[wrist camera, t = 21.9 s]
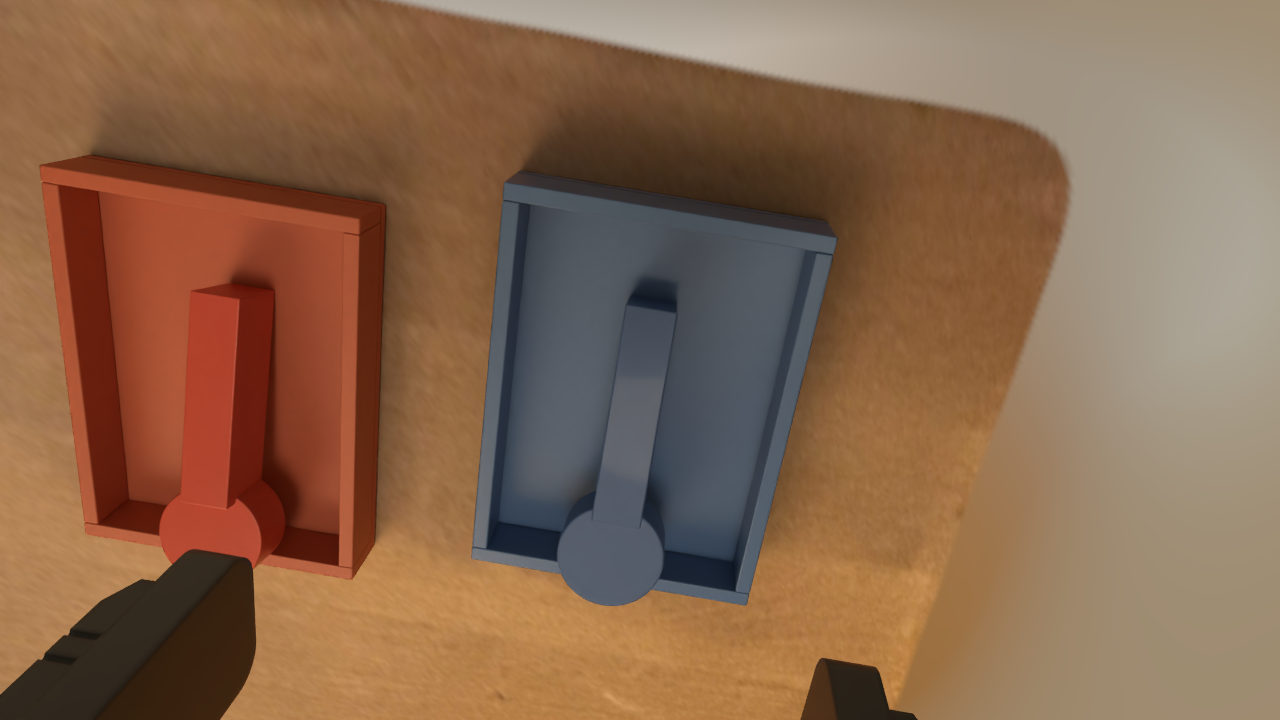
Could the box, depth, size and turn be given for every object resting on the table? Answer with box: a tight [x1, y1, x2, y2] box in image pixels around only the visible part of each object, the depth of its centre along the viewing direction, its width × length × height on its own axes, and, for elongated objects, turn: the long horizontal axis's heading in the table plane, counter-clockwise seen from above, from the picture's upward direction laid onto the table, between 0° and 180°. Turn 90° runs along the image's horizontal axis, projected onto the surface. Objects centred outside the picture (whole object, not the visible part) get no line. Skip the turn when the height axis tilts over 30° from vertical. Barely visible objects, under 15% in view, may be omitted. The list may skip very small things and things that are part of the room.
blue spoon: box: [557, 295, 678, 606], centre depth 30 cm, size 12×4×3 cm, turn 171°
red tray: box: [40, 155, 386, 580], centre depth 32 cm, size 15×11×2 cm
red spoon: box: [159, 283, 285, 569], centre depth 31 cm, size 12×4×3 cm, turn 171°
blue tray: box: [471, 171, 838, 605], centre depth 31 cm, size 15×11×2 cm
